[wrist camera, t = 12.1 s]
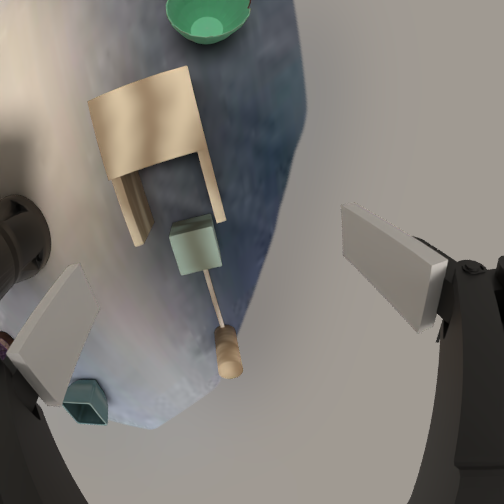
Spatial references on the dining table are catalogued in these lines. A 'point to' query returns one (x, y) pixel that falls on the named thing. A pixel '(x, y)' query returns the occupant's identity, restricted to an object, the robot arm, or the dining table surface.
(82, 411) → the flower pot
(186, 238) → the tethered block
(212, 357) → the dining table surface
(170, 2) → the mug
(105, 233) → the dining table surface
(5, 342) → the mug
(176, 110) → the tan wooden arch
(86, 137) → the dining table surface
